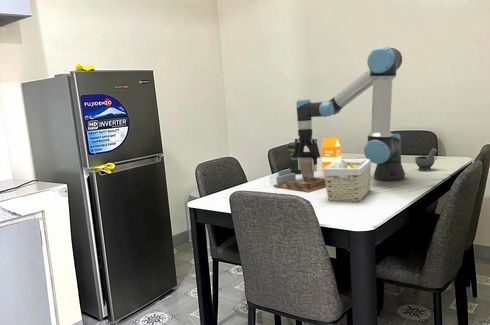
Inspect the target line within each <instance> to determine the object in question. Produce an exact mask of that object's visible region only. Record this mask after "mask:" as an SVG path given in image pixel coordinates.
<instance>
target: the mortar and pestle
mask: <svg viewBox="0 0 490 325" xmlns="http://www.w3.org/2000/svg"><path fill="white" fill-rule="evenodd" d="M437 152H438V150H437V149H436V148H435V147H434V148H431V151H430V152H429V153H428V155H426V156H425V155H423V156H416V157H414V161H415V164H416V165H417V167H418V171H419V170H421V171H420V172H428V171H427V170H430V171H432V167H433V166H434V164H435V155H436V153H437Z"/></svg>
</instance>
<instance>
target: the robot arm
mask: <svg viewBox="0 0 490 325" xmlns="http://www.w3.org/2000/svg"><path fill="white" fill-rule="evenodd" d="M366 61H367V67H368V69H367V70H365V72H363V73H362V74H361V75H360V76H358V77H357V78H355V80H353V81H352V82H350V84H349V85H347V86H346V87H344V88H343V89H342V90H341V91H339V92H338V93H337V94H336V95H335V96H334V97H333V96H332V98H330V100H328V101H319V102H311V99H310V98H308V99H306V98H304V99H297V101H296V117H297V120H296V121H297V129H298V130H297V134H298V135H297V136H299V137H298V138H294V142H295V149H294V156H296V157H297V163H298V170H300V169H301V168H300V160H299V157H298V155H299V153H301V152H303V149H304V150H305V147H307V149H308V150H309V151H308V152H310V153H311V155H312V157H313V158H312V171H314V172H316V171H317V165H318V159H319V158H320V156H321V155H320V150H319V146H318V139H317V138H313V123H312V122H313V121H312V120H313V119H312V118H319V117H320V118H323V117H324V118H326V117H331V116H335V115H338V114H339V113H340V112H341V111H342V109H343V108H345V107H346V106H347V105H348V104H350V103H351V102H353V101H354V100H355V99H356V98H357V97H359V96H360V95H362V94H363V93H365V91H367V90H368V89H369V88H371V87H372V100H371V102H372V104H371V128H370V129H371V130H370V132H369V133H368V134H367V142H366V144H365V145H364V148H363V153H364V156H365V159H370V160H371V164H376V167H375V170H374V173H373V179H374V180H376V181H381V182H394V181H402V180H404V179H406V173H405V170H404V166H403V165H402V152H401V151H402V148H401V147H402V146H401V145H402V144H401V143H402V142H401V141H402V139H401V134H399V133H392V132H391V121H392V120H391V117H392V116H391V114H392V95H393V81H394V79H395V78H396V77H397V71H398V69H400V67H401V65H402V63H403V56H402V54H401V51H399V50H398V49H396V48H394V47H389V46H384V45H383V46H378V47H376V48H373V50H372V51H370V52H369V55H368V56H367V60H366ZM299 146H300V147H299Z"/></svg>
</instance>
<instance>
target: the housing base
mask: <svg viewBox="0 0 490 325" xmlns="http://www.w3.org/2000/svg"><path fill="white" fill-rule="evenodd" d="M273 188H276V189H278V188H279V189H285V190H291V191H297V192H302V191H303V193H311V191H312V192H314V191H318V190H321V189H326V183H325V178H322V177H315V176H314V177H307V176H305V177H304V180H303V179H297V178H296V180H294V181H286V183H282V184H278V183H274V184H273Z"/></svg>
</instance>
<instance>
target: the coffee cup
mask: <svg viewBox="0 0 490 325" xmlns="http://www.w3.org/2000/svg"><path fill="white" fill-rule="evenodd" d="M298 157H299V160H300V168H301V180H304V177H305V176H307V177H315V171H312V158H313V157H312V155H311V153H310V151H304V152H301V153H299V155H298Z"/></svg>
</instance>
